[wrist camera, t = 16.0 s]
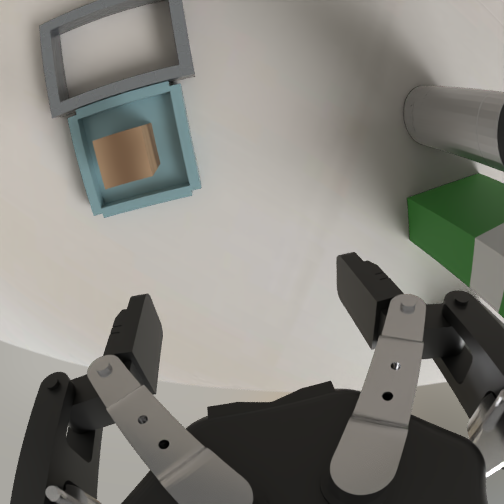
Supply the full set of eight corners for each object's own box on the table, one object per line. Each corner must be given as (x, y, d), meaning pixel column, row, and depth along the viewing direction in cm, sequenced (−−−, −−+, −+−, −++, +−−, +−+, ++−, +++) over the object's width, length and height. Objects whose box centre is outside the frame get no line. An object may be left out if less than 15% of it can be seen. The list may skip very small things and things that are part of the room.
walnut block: (151, 122, 32) (140, 125, 26) (160, 163, 34) (152, 176, 28) (110, 134, 32) (92, 141, 26) (120, 174, 34) (105, 189, 28)
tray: (180, 80, 31) (179, 78, 29) (201, 187, 37) (202, 193, 35) (74, 112, 30) (66, 113, 28) (100, 213, 36) (95, 220, 34)
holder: (179, -13, 26) (178, -22, 23) (194, 76, 31) (194, 73, 29) (49, 30, 24) (39, 25, 22) (62, 116, 30) (52, 118, 27)
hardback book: (478, 173, 43) (585, 225, 22) (478, 210, 47) (574, 271, 25) (406, 197, 43) (528, 274, 22) (409, 240, 46) (513, 327, 25)
